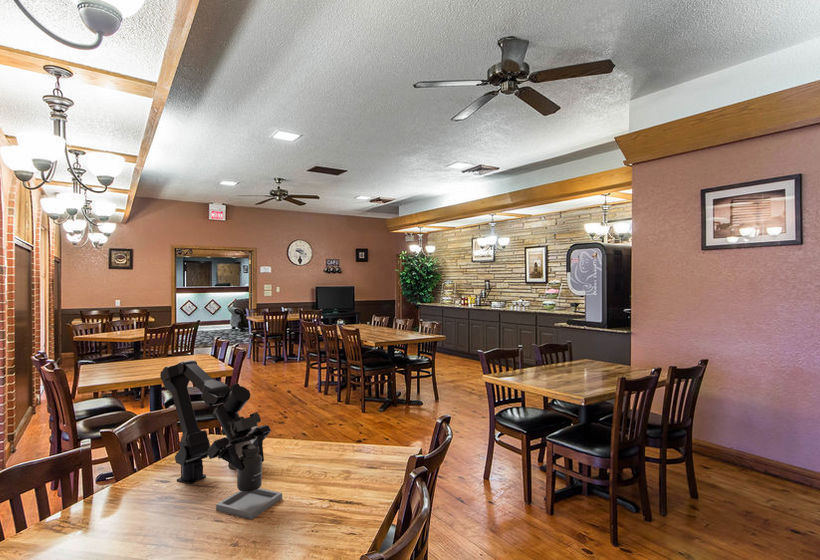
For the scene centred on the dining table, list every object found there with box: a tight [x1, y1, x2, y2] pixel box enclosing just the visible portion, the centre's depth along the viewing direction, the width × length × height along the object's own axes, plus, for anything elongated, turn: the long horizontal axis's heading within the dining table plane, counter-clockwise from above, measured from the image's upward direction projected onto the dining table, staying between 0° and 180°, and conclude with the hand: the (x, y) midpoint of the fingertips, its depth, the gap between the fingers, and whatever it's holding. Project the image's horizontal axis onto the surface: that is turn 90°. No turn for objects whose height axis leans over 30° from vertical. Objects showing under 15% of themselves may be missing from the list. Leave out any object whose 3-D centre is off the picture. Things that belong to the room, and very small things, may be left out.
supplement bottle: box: [236, 444, 263, 492], centre depth 132 cm, size 7×7×12 cm
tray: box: [215, 487, 283, 521], centre depth 132 cm, size 13×13×2 cm
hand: (252, 465), depth 131 cm, fingers closed on supplement bottle, 7 cm apart
